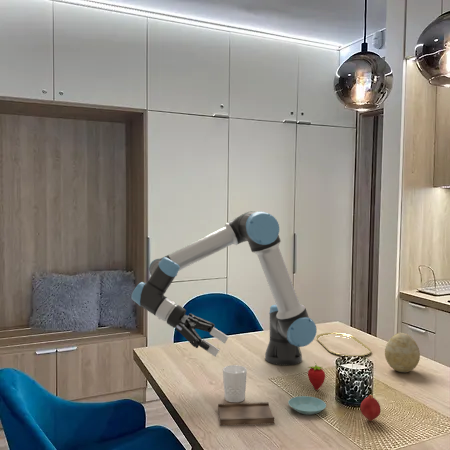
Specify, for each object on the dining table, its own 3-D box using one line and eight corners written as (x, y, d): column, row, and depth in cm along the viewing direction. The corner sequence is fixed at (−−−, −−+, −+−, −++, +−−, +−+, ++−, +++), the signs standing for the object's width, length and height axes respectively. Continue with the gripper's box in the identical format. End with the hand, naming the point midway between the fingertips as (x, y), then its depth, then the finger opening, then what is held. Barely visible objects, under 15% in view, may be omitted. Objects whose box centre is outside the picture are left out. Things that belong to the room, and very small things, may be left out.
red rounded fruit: (357, 416, 147) (357, 390, 147) (375, 415, 147) (376, 390, 147) (364, 425, 141) (364, 398, 141) (383, 424, 142) (383, 398, 141)
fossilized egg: (382, 374, 183) (383, 335, 182) (386, 363, 195) (387, 327, 194) (418, 379, 178) (419, 339, 177) (420, 368, 189) (421, 331, 188)
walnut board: (268, 407, 153) (268, 402, 153) (274, 423, 142) (274, 417, 142) (218, 409, 152) (218, 403, 152) (220, 425, 141) (220, 419, 141)
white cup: (244, 404, 156) (244, 374, 155) (220, 402, 157) (220, 372, 157) (248, 394, 163) (248, 365, 163) (225, 393, 165) (225, 364, 164)
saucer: (300, 399, 160) (300, 392, 160) (332, 409, 153) (332, 402, 153) (281, 411, 151) (281, 404, 151) (314, 422, 144) (314, 414, 144)
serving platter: (335, 359, 201) (335, 356, 201) (311, 336, 236) (311, 333, 236) (378, 358, 203) (378, 354, 203) (348, 335, 238) (348, 332, 238)
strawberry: (310, 394, 163) (310, 365, 163) (305, 386, 171) (305, 358, 170) (327, 394, 164) (328, 365, 163) (321, 385, 171) (322, 358, 171)
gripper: (177, 312, 182) (225, 343, 179) (153, 332, 158) (207, 368, 155) (187, 296, 181) (235, 327, 178) (164, 313, 157) (219, 349, 154)
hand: (222, 346), depth 166 cm, fingers open, 13 cm apart
